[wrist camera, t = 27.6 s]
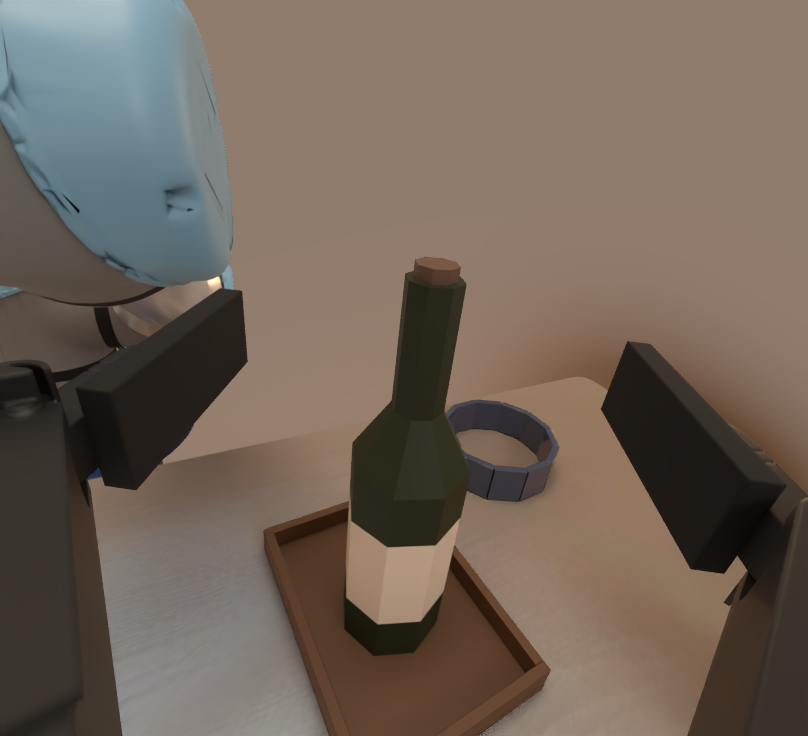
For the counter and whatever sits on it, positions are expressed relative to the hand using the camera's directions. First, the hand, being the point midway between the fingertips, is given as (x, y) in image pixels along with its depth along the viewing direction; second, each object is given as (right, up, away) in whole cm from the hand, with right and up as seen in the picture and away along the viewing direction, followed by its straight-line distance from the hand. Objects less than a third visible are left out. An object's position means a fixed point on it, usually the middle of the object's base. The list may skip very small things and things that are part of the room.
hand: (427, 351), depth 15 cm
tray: (-2, -22, +23) cm, 32 cm away
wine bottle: (-2, -21, +23) cm, 31 cm away
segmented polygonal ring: (+11, -13, +42) cm, 45 cm away
